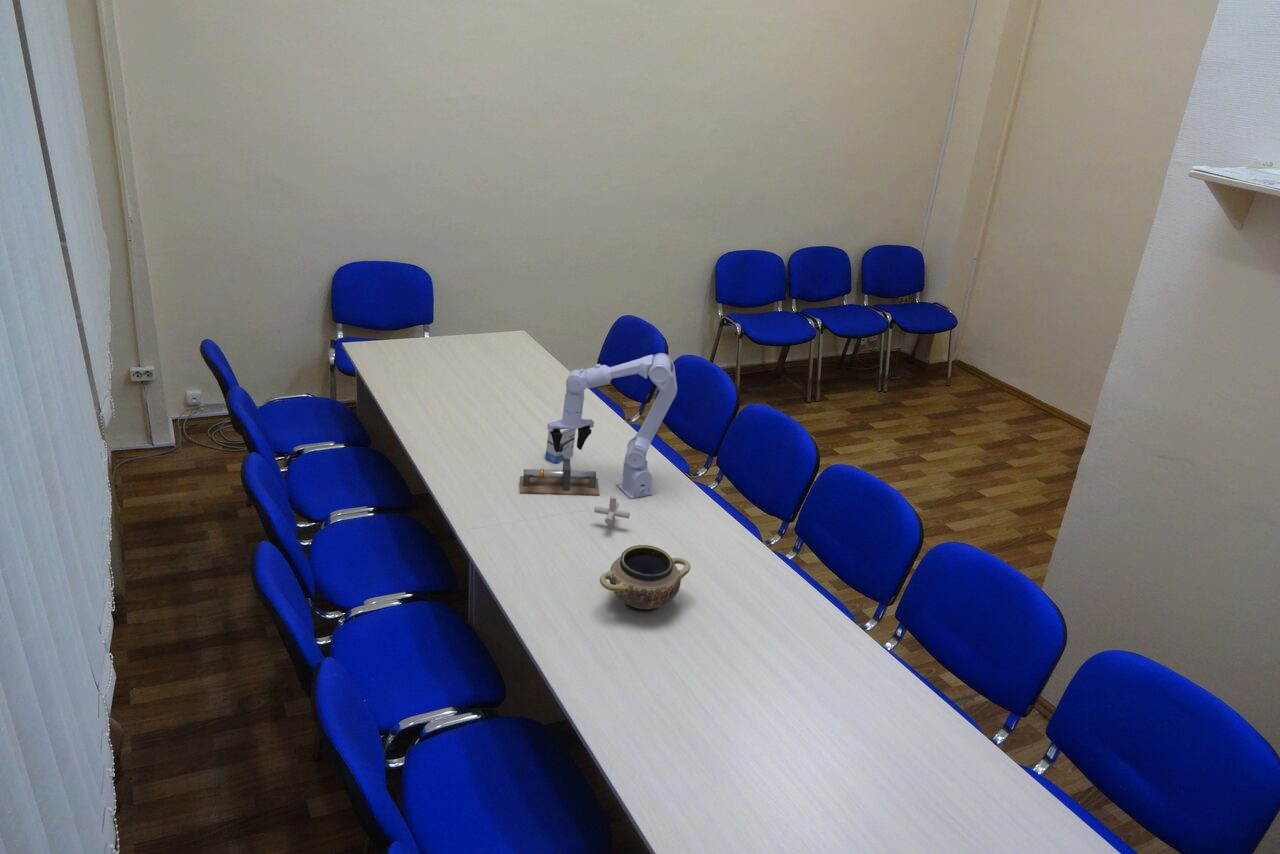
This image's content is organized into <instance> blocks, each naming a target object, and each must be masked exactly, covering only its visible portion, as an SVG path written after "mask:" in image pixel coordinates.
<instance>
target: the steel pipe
mask: <svg viewBox="0 0 1280 854" xmlns="http://www.w3.org/2000/svg"><path fill="white" fill-rule="evenodd" d="M563 474H564V470H563V469H536V468H535V469H533V468H529V469H528V468H523V475H522V476H523V487H530V477H539V478H563ZM570 478H575V479H589V482H588V484H589V488H595V487H596V478H597V471H595V470H571V474H570Z"/></svg>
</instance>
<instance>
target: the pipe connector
mask: <svg viewBox="0 0 1280 854" xmlns="http://www.w3.org/2000/svg"><path fill="white" fill-rule="evenodd" d="M608 505H609V506H608V507H602V506H597V505H595V507H594V511H593V512H594V513H596V514H601V515H605V516H606V517H605V520H604V522H605V524H607V529H608V530H614V529H615V522H616V521H615V520H616V518H615V517H617V518H624V519H627V520H628V519H629V518H630V515H631V512H630V511H626V510H625V511H624V510H621V509H620V510H619V509H618V508H619V507H620V504H619V502H618V501H617V496H616V495H610V496H609V504H608Z"/></svg>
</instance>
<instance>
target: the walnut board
mask: <svg viewBox="0 0 1280 854" xmlns="http://www.w3.org/2000/svg"><path fill="white" fill-rule="evenodd" d="M588 482H589V479H575V478H570V490H563V482H562V478H539V477H530V487H523V475H522V476H521V475H520V477H519V495H546V494H551V495H553V496H554V495H555V496H556V495H557V496H590V497H591V496H592V497H599V496H600V488H599V481H598V477H596V487H595V488H589V484H588Z"/></svg>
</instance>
